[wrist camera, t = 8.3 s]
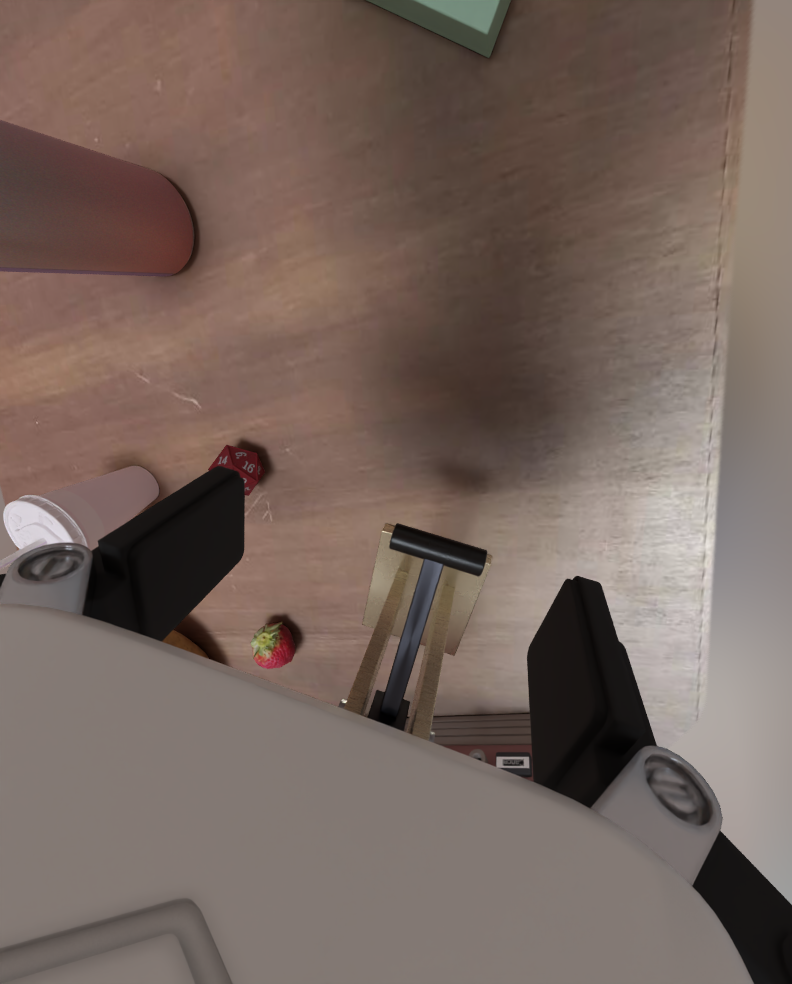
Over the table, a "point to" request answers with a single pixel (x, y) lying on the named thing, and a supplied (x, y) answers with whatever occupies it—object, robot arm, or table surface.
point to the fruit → (273, 646)
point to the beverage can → (86, 211)
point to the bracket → (389, 616)
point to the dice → (241, 465)
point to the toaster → (489, 740)
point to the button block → (455, 19)
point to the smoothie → (78, 511)
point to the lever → (419, 610)
